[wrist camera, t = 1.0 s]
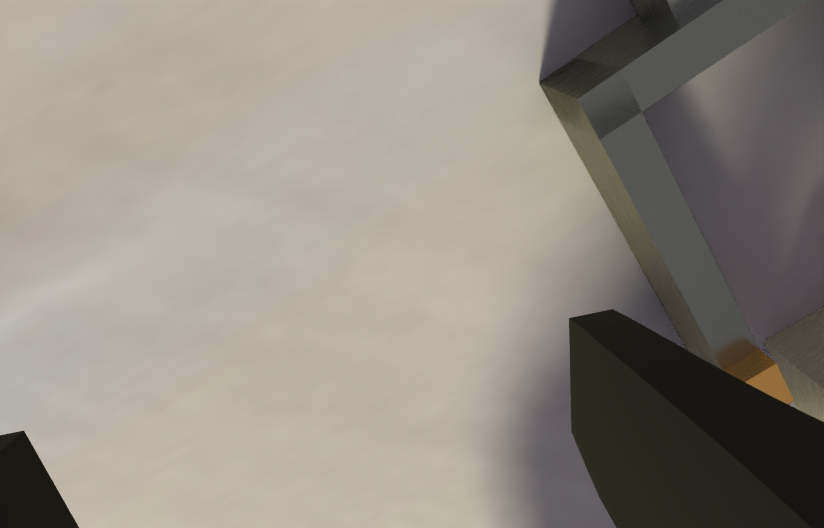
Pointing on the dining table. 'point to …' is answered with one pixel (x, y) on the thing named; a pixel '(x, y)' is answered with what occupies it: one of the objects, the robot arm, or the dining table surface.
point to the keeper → (664, 162)
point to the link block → (802, 361)
